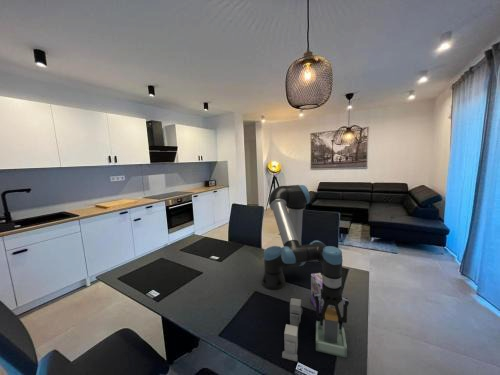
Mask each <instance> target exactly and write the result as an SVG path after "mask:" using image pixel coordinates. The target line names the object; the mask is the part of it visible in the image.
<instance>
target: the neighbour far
mask: <svg viewBox="0 0 500 375" xmlns="http://www.w3.org/2000/svg"><path fill="white" fill-rule="evenodd" d="M301 308H302V299H299V298H294V297H291V298H290V301H289V315H290V314H291V311H295V312H299V324H300V323H301V321H302V320H301V317H302V314H301Z"/></svg>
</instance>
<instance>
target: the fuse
mask: <svg viewBox="0 0 500 375" xmlns="http://www.w3.org/2000/svg"><path fill="white" fill-rule="evenodd" d="M337 328H338V315H337V312H336V309H335V308H333V307H331V308H328V307H327V309H326V312H325V334H324V339H325V340H326V341H330V342H334V343H337Z"/></svg>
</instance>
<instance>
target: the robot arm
mask: <svg viewBox="0 0 500 375" xmlns="http://www.w3.org/2000/svg"><path fill="white" fill-rule="evenodd" d="M268 198H269V199H268V204H269V205H268V206H269V209H271V211H272V213H273V216H274V218H275V222H276V227H277V228H278V232H279V236H280V239H281V241H282V245H283V246H282V247H281V246H278V245H273V246H269V247H267V248H266V249H264V251H263V252H264V253H263V263H264V264H263V266H264V267H263V269H264V271H263V275H262V278H261V284H262V286H263V287H264V288H266V289H269V290H272V291H273V290H275V291H276V290H280V289H282V288H284V287H285V285H286V279H285V275H284V273H283V268H294V267H301V266H304V265H305V264H306V263H308V262H318V263H319V264H320V265H322V273H321V275H322V282H323V283H322V292H321V294H317V293H315V299H316V308H315V317H316V318H319V322H320V325H321V326H323V334H325V316H324V315H325V312H326V309H327V307H328V305H331V306H334V309H336V312H337V315H338V328H337V337H339V329H342V326H343V323H344V324H346V323H348V306H349V299H348V298H347V297H345V298H344V297H343V296H342V277H343V276H342V273H343V251H342V250H341V248H339V247H336V246H332V245H328V246H327V245H326V244H325V243H324V242H322V241H320V240H318V239H317V240H313V241H312V242H310V243H309V244H302V234H303V232H302V231H303V215H304V214H303V213H304V212H303V211H304V210H305V209H306V207H307V206H306V205H308V204H309V203H310V201H311V195H310V192H309V189H308V188H307V186H306V185H303V184H293V185H290V184H289V185H280V186H277V187H276V188H274V189H273V190H272V192H271V193H270V195H269V197H268ZM321 297H322V299H323V300H324V304H323V307H322V310H321V313H319V300H320V298H321ZM341 302H342V306H343V308H342V309H343V310H342V315H341V312H340V307H339V304H340V303H341Z"/></svg>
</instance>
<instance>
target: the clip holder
mask: <svg viewBox="0 0 500 375" xmlns="http://www.w3.org/2000/svg"><path fill="white" fill-rule="evenodd" d="M302 314H303V308H302V307H301V315H302ZM287 325H292V326H297V327H298V329H300V328H299V326H300V323H299V312H295V311H291V314H290V313H289V324H287ZM281 354H282V355H281V358H282V359H285V360H289V361H293V362H297V363H298V354H297V355H296V354H295V343H292V342H288V341H285V351H284V350H283V351H282V352H281Z"/></svg>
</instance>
